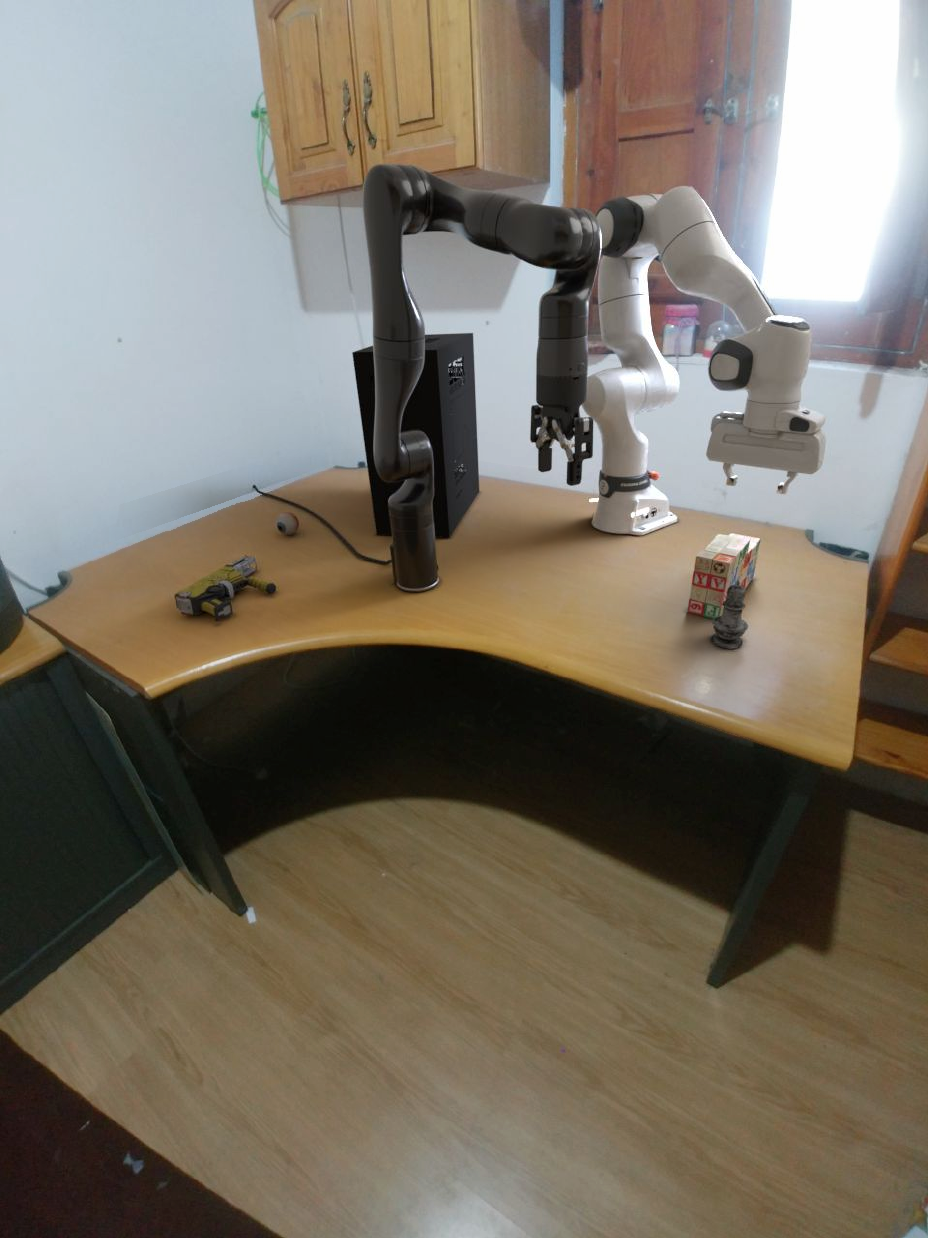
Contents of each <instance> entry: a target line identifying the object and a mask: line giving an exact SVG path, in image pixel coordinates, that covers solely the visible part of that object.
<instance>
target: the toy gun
mask: <svg viewBox="0 0 928 1238" xmlns="http://www.w3.org/2000/svg"><path fill="white" fill-rule="evenodd" d="M254 563H255V567H252V566H251V565H252V564H254ZM256 571H258V564H257V559H256V557H255V556H253V555H250V556H249V555H248V554H244V555H243V556H241V557H240V558H238V559H236V560H234V561H232V562H231V563H229V564H227V563H226V564H225V565H224V566H222V567H220V568H218V569H216V570H214V571H213V572H211V573H210V574H208V575H206V576H204V577H202V578H200V579H199V580H197V581H194V582H193V583H191V584H190V585H188V586H186V587H184V588H183V589H180V590H179V591H177V592H175V594H174V595H173V596H174V600H175V606H176V609H177V610H178V611H179V612H180V613H181V615H186V616H190V615H201V614H205V613H209V614H210V615H212V616H214V618H215V622H221V621H222V620H225V619H226V618H228V617H230V616H232V615H234V612H233V611H234V610H233V605H232V601H231V600H232V599H233V598H234V596H235V593H236V592H238V591H240V590H243V589H245V587H251V588H253V589H256V590H259V591H261V592H262V593H264V592H265V593H266V594H267V595H273V594H275V593H276V592H277V585H275V583H273V582H269V581H266V580H263V579H260V578H258V577H256V576H254V575H252V576H250V575H251V574H252V573H254V572H256ZM248 576H249V577H248ZM246 577H248V578H246Z"/></svg>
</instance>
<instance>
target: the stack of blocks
mask: <svg viewBox="0 0 928 1238" xmlns="http://www.w3.org/2000/svg"><path fill="white" fill-rule="evenodd" d="M760 544H761V538H759V537H754V536H749V535H742V534H737V533H732V532H731V533H729V534H728V535H726V534H721V533H718V534H717V535H716V536H715V537H714V538H713V539H712V540H711V541H710V542H709V544H707V545H706V546H705V547H704V548H703V549H702V550H700V552H699V553H697V554H696V556H695V560H694V561H695V562H694V566H693V567H694V569H693V573H692V580H691V588H690V595H689V599H688V606H687V613H690V614H693V615H696V616H700V617H705V618H709V619H712V620H713V619H714V618H715V617H718V616H722V613H723V609H724V606H723V602H724V601H726V595H727V590H728V588H729V587H730V586H731V585H735V584H736V582H737V581H739V582H740V584H739V585H741V586H743V587H744V588H745V589H746V588H747V587H748V586H749V584H750V583H751V582H752V580H753V579H754V575H755V571H756V567H757V566H756V565H757V561H758V557H759V549H760Z"/></svg>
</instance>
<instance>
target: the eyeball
mask: <svg viewBox="0 0 928 1238" xmlns="http://www.w3.org/2000/svg"><path fill="white" fill-rule="evenodd" d="M299 525H300V522H299V519H298V517H297V516H296V515H295V514H294V513H292V512H287V511H286V512H282V513H280V514H279V515H278V516H277V517H276V520H275V527H276V529H277V530H278V531H279V532H280V533H281V534H282V535H285V536H286V535H287V536H289V535H293V534H295V533H296V532H297V531H298V529H299Z"/></svg>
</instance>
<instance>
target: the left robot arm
mask: <svg viewBox="0 0 928 1238" xmlns="http://www.w3.org/2000/svg"><path fill="white" fill-rule="evenodd" d="M361 196H362V198H361V199H362V202H361V203H362V215H363V217H362V218H363V224H364V233H365V241H366V250H367V258H368V267H369V276H370V278H369V279H370V293H371V311H372V346H373V355H374V369H375V424H374V444H373V451H374V462H375V466H376V470H377V472H378V475H379V476H380V478H381V479H382V480H383V481H385V482H387V483H395V482H399V481H403V480H405V482H404V483H403V485H402V486H401V487H400V488H399V489H398V490H397V491H396V492H395V493H394V494H392V495H391V496H390V498H389V500H388V508H389V516H390V525H391V533H392V535H391V540H392V542H391V543H390V544H389V553H390V559H387V560H381V559H376V558H372V557H369V556H366V555H364V554H362V553H360V552H359V551H357V549H355V548H354V546H352V544H350V542H348V540H347V539H346V538H344V536H342V535H341V533H340V532H338V530H336V529H335V528H334V526H332V525H331V523H329V522H328V521H327V520H325V518H323V517H322V516H321V515H319V514H317V513H316V512H314V511H313V510H311V509H309V508H308V507H305V506H303V505H302V504H300V503H296V502H295V501H291V500H289V499H286V498H284V497H280V496H277V495H274V494H271V493H267V492H263V491H261V490H259V489H258V487H257V486H256V484H253V485H252V489H254V490H255V492H256V493H259V494H260V495H262V496H265V497H267V496H268V497H270V498H273V499H277V500H279V501H282V502H285V503H288V504H290V505H292V506H294V507H295V506H296V507H297V508H300V509H302V510H304V511H306V512H308V513H310V514H311V515H313V516H314V517H316V518H317V519H319V520H320V521H321V522H322V523H324V524H325V525H326V526H327V527H328V528H329V529H331V530H332V532H333V533H334V534H335V535H336V536H337V537H338V538H339V539H340V540H341V541H342V542H343V543H344V544H345V545H346V546H347V547H348V548H349V549H350V550H351V551H352V553H354V554H355V555H356V556H358V557H359V558H361V559H364V560H366V561H368V562H372V563H376V564H379V565H381V564H382V565H390V564H391V568H392V569H391V570H392V576H393V584H394V585H396V586H397V588H399V589H400V590H402V591H404V592H407V593H408V592H409V593H420V592H425V591H429V590H432V589H434V588H436V587H437V586H438V584H439V583H440V577H439V573H440V570H439V564H438V557H437V555H438V554H437V545H436V544H437V543H436V537H435V530H434V518H433V506H432V501H433V498H434V464H433V452H432V447H431V444H430V441H429V439H428V437H427V436H426V434H425V433H424V432H422V431H421V430H418V429H412V430H407V431H403V432H401V422H402V416H403V412H404V409H405V406H406V404H407V402H408V400H409V398H410V396H411V394H412V392H413V390H414V388H415V386H416V384H417V382H418V380H419V378H420V375H421V373H422V370H423V366H424V360H425V335H426V327H425V322H424V317H423V315H422V312H421V310H420V307H419V305H418V303H417V301H416V299H415V296H414V294H413V292H412V290H411V289H410V285H409V283H408V280H407V277H406V272H405V266H404V253H403V252H404V251H403V237H404V236H415V235H417V234H420V233H450V234H454V235H457V236H459V237H461V238H463V239H464V240H465V241H467V242H469V243H470V244H472V245H473V246H476V247H478V248H480V249H484V250H487V251H491V252H494V253H498V254H501V255H506V256H511V257H515V258H517V259H518V260H521V261H523V262H525V263H527V264H529V265H531V266H534V267H536V268H541V269H545V270H553V271H554V270H555V272H554V278H553V282H552V286H551V288H550V289H549V290H547V291H545V292H544V293H543V294H542V295H541V297H540V299H539V302H538V327H537V328H538V329H537V330H538V333H537V335H538V339H537V348H536V356H535V357H536V360H535V361H536V365H535V373H536V374H535V376H536V378H535V403H536V404H534V405H533V404H532V405H531V407H530V434H529V440H530V442H531V443H532V444H533V443H534V444H535V448H536V450H537V470H538V472H540V473H547V472H550V471H551V470H552V469H553V448H552V446H553V444H554V442H555V441H556V442H558V443H559V446H560V448H561V449H562V450H564V453H565V456H566V458H567V462H566V484H567V485H568V486H570V487H572V486H576V485H580V484H581V482H582V478H583V476H582V475H583V462H584V460H588V459H592V458H593V456H594V420H593V418H592V417H590V416H585V417H582V416H581V412H580V407H582V404H583V403H584V402H585V401H586V395H587V377H588V371H589V342H588V337H589V336H588V333H589V332H588V331H589V306H590V299H591V296H592V292H593V290H594V285H595V281H596V277H597V272H598V270H599V264H600V261H601V255H602V254H601V246H602V237H601V229H600V225H599V222H598V220H597V218H596V214H594V212H593V211H591V210H589V209H587V208H585V207H573V206H572V207H571V206H570V207H569V206H557V205H548V204H541V203H540V204H539V203H535V202H532V201H531V200H530V199H526V198H524V197H521V196H516V195H513V194H512V195H511V194H506V193H502V192H496V191H491V190H490V191H489V190H484V189H476V188H468V187H464V186H462V185H458V184H455V183H452V182H450V181H448V180H446V179H445V178H444V179H443V178H442V177H439V176H438V175H436V174H434V173H431V172H430V171H428V170H426V169H424V168H421V167H419V166H417V165H413V164H399V163H378V164H374V165H373V166H371V167H370V168H369V169H368V171H367V172H366V175H365V177H364V181H363V185H362V195H361ZM538 428H539V430H538ZM537 430H538V432H537ZM583 444H585V449H584V446H583ZM573 448H574V451H573Z"/></svg>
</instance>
